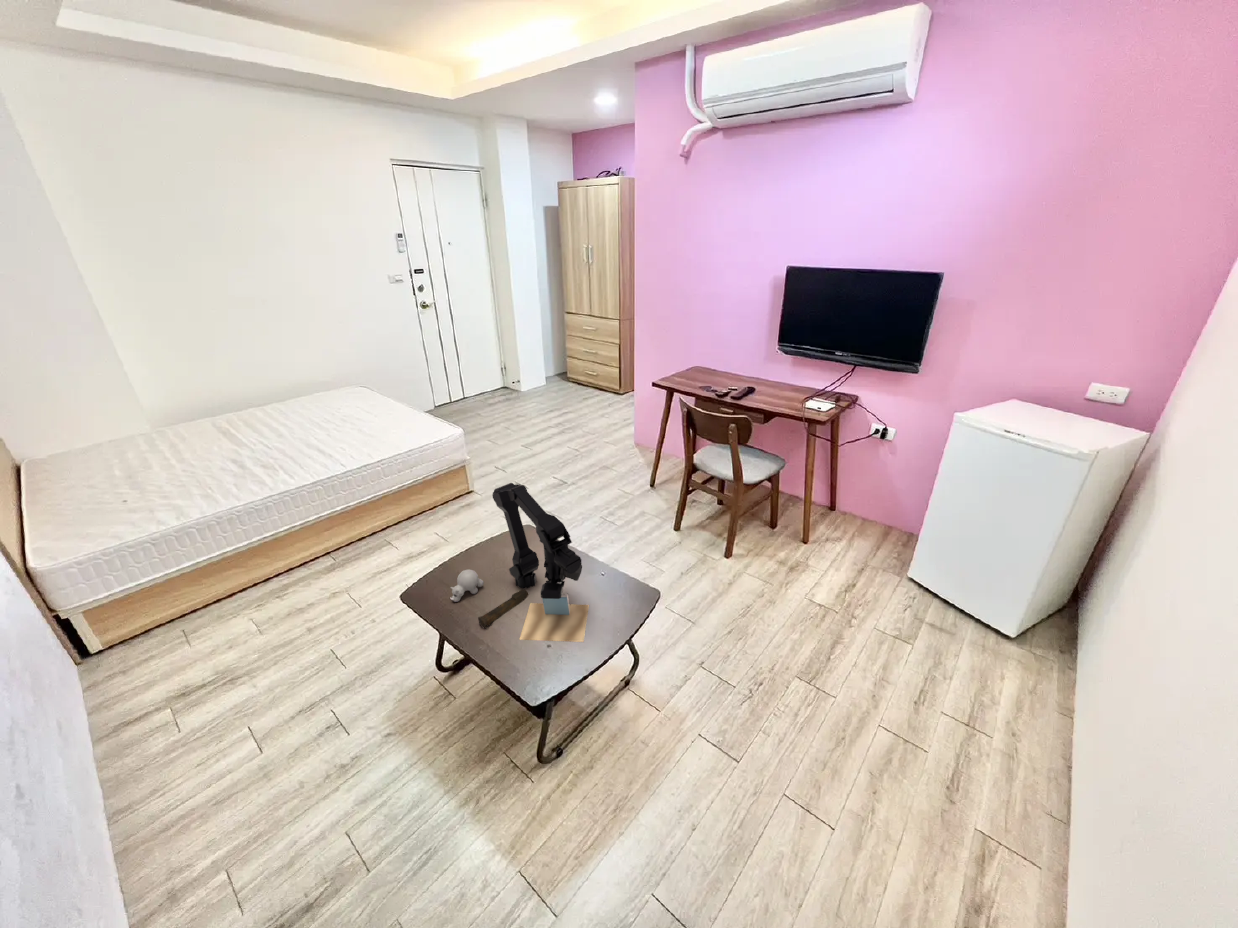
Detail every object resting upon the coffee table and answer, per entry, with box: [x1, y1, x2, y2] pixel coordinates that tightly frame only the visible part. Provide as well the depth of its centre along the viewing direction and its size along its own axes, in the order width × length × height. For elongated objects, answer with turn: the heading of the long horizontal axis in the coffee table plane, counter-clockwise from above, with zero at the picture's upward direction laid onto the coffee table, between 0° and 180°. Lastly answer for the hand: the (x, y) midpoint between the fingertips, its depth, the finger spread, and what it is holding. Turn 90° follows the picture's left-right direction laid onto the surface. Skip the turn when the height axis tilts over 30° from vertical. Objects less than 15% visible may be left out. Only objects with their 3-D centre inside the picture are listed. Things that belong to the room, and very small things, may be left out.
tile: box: [541, 592, 570, 615], centre depth 154 cm, size 8×2×9 cm, turn 87°
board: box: [518, 602, 590, 643], centre depth 153 cm, size 20×16×1 cm
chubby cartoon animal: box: [449, 569, 485, 603], centre depth 165 cm, size 7×12×8 cm, turn 142°
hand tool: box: [477, 589, 529, 630], centre depth 158 cm, size 19×4×5 cm, turn 135°
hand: (557, 596), depth 155 cm, fingers closed
